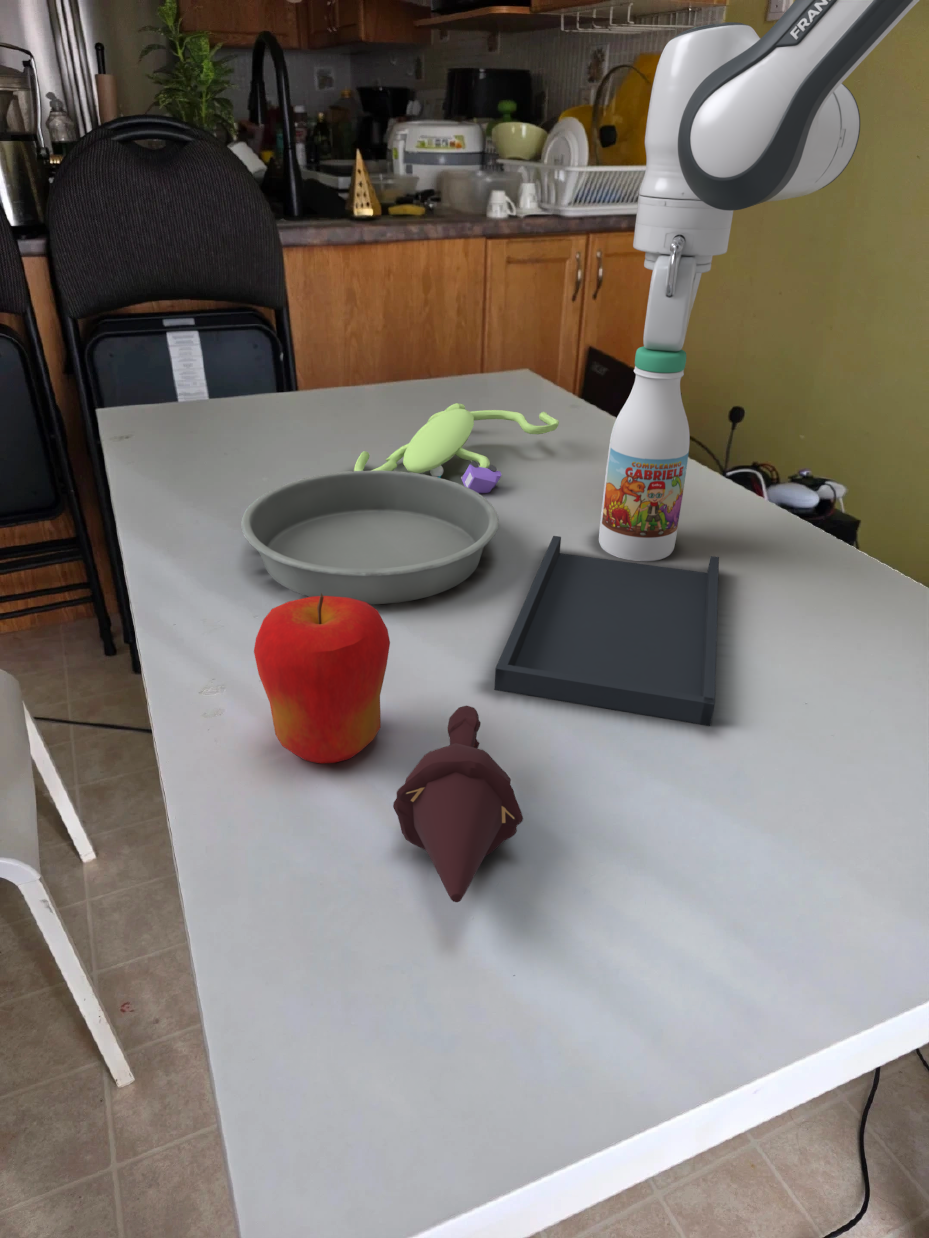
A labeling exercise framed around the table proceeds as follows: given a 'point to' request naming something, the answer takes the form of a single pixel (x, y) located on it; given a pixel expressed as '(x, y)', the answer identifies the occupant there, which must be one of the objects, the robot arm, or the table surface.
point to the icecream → (458, 805)
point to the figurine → (454, 445)
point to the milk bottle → (647, 462)
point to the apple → (323, 675)
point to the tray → (616, 637)
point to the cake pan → (370, 534)
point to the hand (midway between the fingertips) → (662, 377)
